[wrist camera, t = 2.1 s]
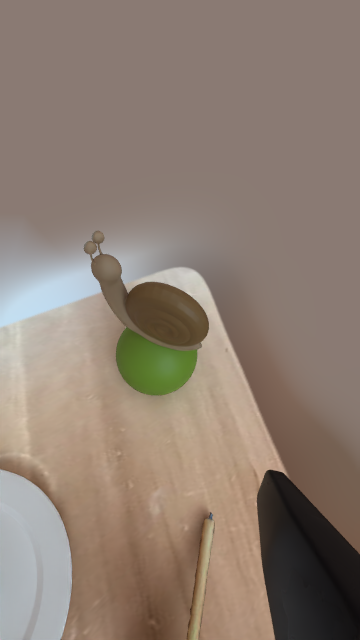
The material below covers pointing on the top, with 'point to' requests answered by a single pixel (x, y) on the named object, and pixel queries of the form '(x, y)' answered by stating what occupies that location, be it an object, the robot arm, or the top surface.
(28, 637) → the candle holder
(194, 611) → the toy figure
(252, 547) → the top surface
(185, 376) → the snail figurine
